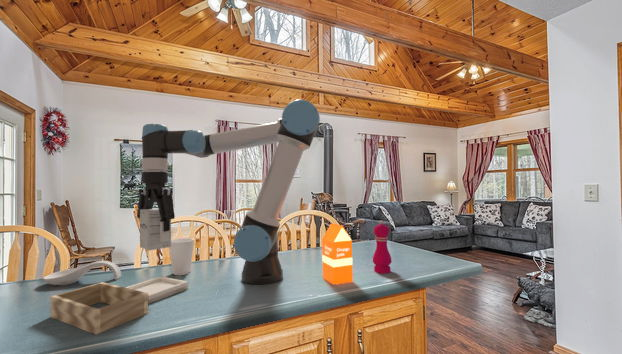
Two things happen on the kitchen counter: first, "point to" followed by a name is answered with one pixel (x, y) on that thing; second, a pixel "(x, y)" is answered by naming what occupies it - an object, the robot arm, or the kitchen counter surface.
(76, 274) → the spoon rest
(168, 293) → the tray
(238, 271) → the kitchen counter surface
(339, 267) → the orange juice
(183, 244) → the foam cup
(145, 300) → the crate
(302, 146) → the robot arm
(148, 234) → the supplement box
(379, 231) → the pepper mill
